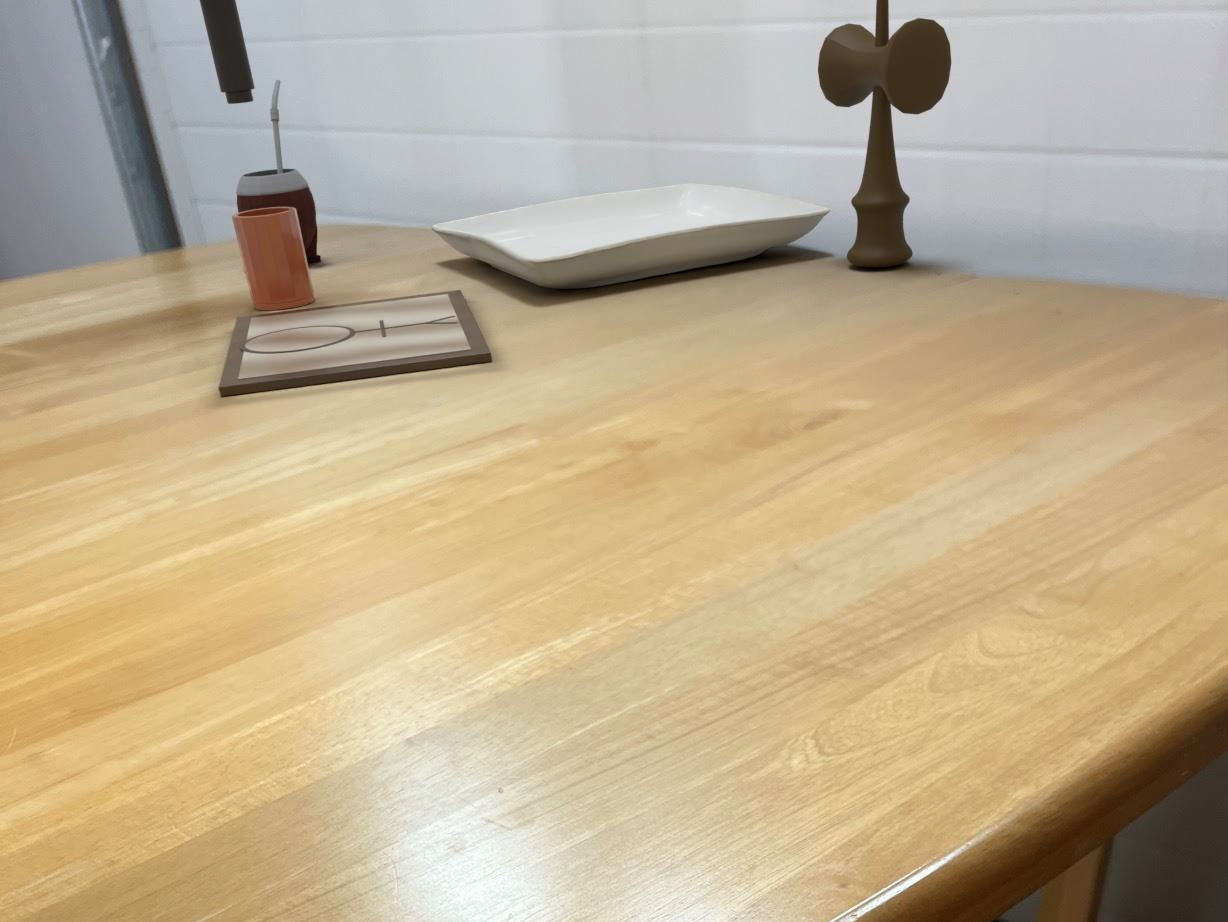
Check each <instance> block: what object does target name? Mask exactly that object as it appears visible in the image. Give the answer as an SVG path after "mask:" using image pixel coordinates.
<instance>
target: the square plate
mask: <svg viewBox="0 0 1228 922" xmlns="http://www.w3.org/2000/svg"><path fill="white" fill-rule="evenodd" d="M831 211H832V210H831V209H830V208H829V207H826V206H823V205H818V204H814V203H810V202H806V201H802V200H798V199H795V198H791V197H787V196H783V195H779V194H775V193H770V192H765V191H760V190H755V189H751V188H744V187H737V186H728V185H718V184H717V185H715V184H705V183H697V182H696V183H695V182H694V183H693V182H689V183H680V184H674V185H666V186H658V187H650V188H641V189H640V188H639V189H631V190H624V191H616V192H615V191H614V192H605V193H598V194H591V195H583V196H576V197H572V198H571V197H570V198H563V199H557V200H552V201H547V202H541V203H535V204H530V205H529V204H528V205H526V206H525V205H524V206H521V207H520V206H519V207H514V208H509V209H504V210H500V211H499V210H498V211H494V212H489V213H485V214H480V215H474V216H471V217H464V218H460V219H455V220H449V221H444V222H438V223H435V224H433V225H431V231H433V232H435V234H437V235H438V236H439V237H440V238H441V239H442V240H443V241H444V242H445V243H446V244H447V245H449V246H450V247H452V248H453V249H454V250H456V251H457V252H459V253H461V254H463V255H465V256H468V257H470V258H473V259H476V260H479V261H481V262H484V263H486V264H488V265H489V266H491V267H492V268H494V269H497V270H499V271H501V272H504V273H506V274H509V275H512V276H515V277H517V278H520V279H522V280H524V281H527V282H529V283H531V284H534V285H537V286H539V287H542V288H548V289H560V290H569V289H572V290H573V289H588V288H595V287H602V286H603V287H604V286H609V285H614V284H619V283H624V282H630V281H631V282H632V281H635V280H641V279H644V278H649V277H656V276H660V275H661V276H662V275H666V274H671V273H672V274H673V273H677V272H682V271H688V270H692V269H698V268H704V267H710V266H715V265H721V264H726V263H733V262H738V261H742V260H746V259H749V258H753V257H756V256H759V255H760V254H762V253H764V252H765V251H766V250H767V249H771V248H777V247H782V246H784V245H787V244H790V243H794V242H795V241H797V240H799V239H801V238H803V237H805V236H806V235H808V234H809V233H810V232H812V231H813V230H814V229H815V228H816V226H818V224H819V223H820V222H821V221H822V220H823V219H824V217H825V216H827V215H828V214H829V213H830V212H831Z"/></svg>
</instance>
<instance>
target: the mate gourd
mask: <svg viewBox="0 0 1228 922" xmlns="http://www.w3.org/2000/svg"><path fill="white" fill-rule="evenodd" d="M281 82H282V81H281V80H280V79H276V80H275V81H274V86H273V91H272V95H271V105H270V106H271V108H269V111H270V112H269V113H270V122H272V131H273V140H274V150H275V161H276V169H266V170H258V171H252V172H248V173H244V174H242V175H241V176H240V178H239V180H238V182H237V187H236V191H235V193H236V206H237V213H239V212H243V211H248V210H254V209H261V208H271V207H294V208H296V211H297V216H298V220H299V225H300V230H301V234H302V239H303V244H304V249H305V253H306V258H307V263H308V264H310V263H317V262H321V261H322V257H321V255H320V254H318V225H317V210H316V201H315V199H314V196H313V193H312V190H311V189H310V187H309V182H308V181H307V180H306V178H305V177H304V176H303V175H302V174H301V172H300V171H299V170H297V169H296V168H284V167H283V156H282V148H281V146H282V145H281V138H280V137H281V135H280V125H279V122H280V112H279V109H278V102H279V93H280V87H281Z"/></svg>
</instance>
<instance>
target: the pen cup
mask: <svg viewBox="0 0 1228 922" xmlns="http://www.w3.org/2000/svg"><path fill="white" fill-rule="evenodd" d="M231 219H232V223H233V228H234V232H235V235H236V240H237V244H238V249H239V253H240V257H241V261H242V265H243V270H244V274H245V278H246V282H247V287H248V291H249V294H250V299H251V302H252V305H253V308H254V309H256V310H260V311H279V310H280V311H281V310H286V309H287V310H288V309H293V308H298V307H303V306H307V305H309V304H311V303H313V302H314V301H316V299H315V294H314V293H315V292H314V286H313V282H312V278H311V277H312V276H311V274H310V268H309V263H307V258H306V253H305V249H304V244H303V239H302V234H301V230H300V225H299V220H298V216H297V211H296V208H294V207H271V208H261V209H254V210H248V211H243V212H239V213H238V212H237V213H234V214H232V215H231Z"/></svg>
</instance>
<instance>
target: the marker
mask: <svg viewBox="0 0 1228 922" xmlns="http://www.w3.org/2000/svg"><path fill="white" fill-rule="evenodd" d="M199 3H200V7H201V8H200V9H201V12H202V17H203V21H204V25H205V29H206V33H207V38H208V42H209V47H210V50H211V51H210V52H211V56H212V59H213V64H214V68H215V72H216V77H217V81H218V86H219V89H220V92H221V93H225V98H226V103H227V104H228V105H232V104H233V105H236V104H245V103H246V104H247V103H251V102H253V101H254V97H253V92H252V90H255V88H256V87H255V83H254V79H253V73H252V70H251V69H252V68H251V65H250V60H249V55H248V51H247V47H246V41H245V37H244V33H243V28H242V25H241V24H242V23H241V19H240V13H239V9H238V6H237V1H236V0H199Z"/></svg>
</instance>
